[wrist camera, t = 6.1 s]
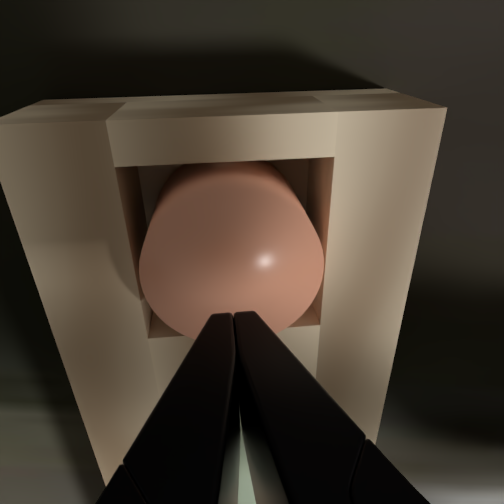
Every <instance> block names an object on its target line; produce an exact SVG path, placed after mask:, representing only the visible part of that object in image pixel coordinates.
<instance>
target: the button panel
mask: <svg viewBox="0 0 504 504" xmlns="http://www.w3.org/2000/svg"><path fill="white" fill-rule="evenodd" d="M446 111H447V107H443V106H440V105H437V104H434V103H431V102H427V101H424V100H421V99H418V98H415V97H412V96H408V95H405V94H402V93H399V92H396V91H392V90H389V89H386V88H385V89H355V90H325V91H295V92H265V93H235V94H205V95H175V96H145V97H115V98H85V99H55V100H42V101H39V102H37V103H34V104H32V105H29V106H27V107H24V108H22V109H19V110H17V111H15V112H12V113H10V114H7V115H5V116H2V117H0V182H1V185H2V188H3V191H4V194H5V197H6V199H7V202H8V205H9V208H10V211H11V214H12V217H13V220H14V223H15V225H16V228H17V231H18V234H19V237H20V240H21V243H22V246H23V249H24V251H25V254H26V257H27V260H28V263H29V266H30V269H31V272H32V275H33V277H34V280H35V283H36V286H37V289H38V292H39V295H40V298H41V301H42V303H43V306H44V309H45V312H46V315H47V318H48V321H49V324H50V327H51V329H52V332H53V335H54V338H55V341H56V344H57V347H58V350H59V353H60V355H61V358H62V361H63V364H64V367H65V370H66V373H67V376H68V379H69V381H70V384H71V387H72V390H73V393H74V396H75V399H76V402H77V405H78V407H79V410H80V413H81V416H82V419H83V422H84V425H85V428H86V431H87V433H88V436H89V439H90V442H91V445H92V448H93V451H94V454H95V457H96V459H97V462H98V465H99V468H100V471H101V474H102V477H103V480H104V483H105V485H106V486H107V484H108V483H109V481H110V479H111V478H112V476H113V474H114V473H115V471H116V469H117V468H118V466H119V465H120V464H123V458H124V457H125V455H126V453H127V452H128V450H129V448H130V447H131V445H132V443H133V442H134V440H135V439H136V437H137V435H138V434H139V432H140V430H141V429H142V427H143V425H144V424H145V422H146V420H147V419H148V417H149V415H150V414H151V412H152V411H153V409H154V407H155V406H156V404H157V402H158V401H159V399H160V397H161V396H162V394H163V392H164V391H165V389H166V387H167V386H168V384H169V383H170V381H171V379H172V378H173V376H174V374H175V373H176V371H177V369H178V368H179V366H180V364H181V363H182V361H183V359H184V358H185V356H186V355H187V353H188V351H189V350H190V348H191V346H192V345H193V343H194V341H195V340H194V339H192V338H189V337H187V336H184V335H183V334H181V333H179V332H177V331H175V330H174V329H172V328H171V327H170V326H168V325H167V324H166V323H164V322H163V321H162V320H161V319H160V318H159V317H158V316H157V314H156V313H155V312H154V311H153V310H152V308H151V307H150V305H149V303H148V302H147V300H146V298H145V295H144V293H143V290H142V287H141V283H140V276H139V260H140V256H141V251H142V247H143V244H144V241H145V237H146V234H147V231H148V228H149V224H150V221H151V218H152V215H153V211H154V208H155V205H156V201H157V199H158V196H159V193H160V191H161V189H162V187H163V186H164V184H165V182H166V181H167V180H168V178H169V177H170V176H171V175H172V174H173V173H174V172H175V171H176V170H177V169H178V168H179V167H181V166H182V165H183V164H192V163H214V162H235V161H257V160H266V161H267V162H269V163H270V164H272V165H273V166H274V167H276V168H277V169H278V170H279V171H280V172H281V173H282V174H283V175H284V176H285V177H286V179H287V180H288V182H289V183H290V185H291V186H292V188H293V190H294V192H295V194H296V196H297V197H298V199H299V201H300V203H301V205H302V207H303V209H304V210H305V212H306V214H307V216H308V218H309V220H310V221H311V223H312V225H313V227H314V229H315V231H316V233H317V235H318V237H319V239H320V242H321V246H322V249H323V256H324V271H323V277H322V281H321V285H320V288H319V290H318V292H317V294H316V297H315V298H314V300H313V302H312V303H311V305H310V306H309V307H308V309H307V310H306V311H305V312H304V313H303V315H301V316H300V317H299V318H298V319H297V320H296V321H295V322H294V323H292V324H291V325H290V326H288V327H287V328H285V329H284V330H282V331H280V332H279V333H277V334H276V335H277V336H278V337H279V338H280V339H281V340H282V342H283V343H284V344H285V345H286V346H287V347H288V348H289V349H290V351H291V352H292V353H293V354H294V355H295V356H296V357H297V358H298V360H299V361H300V362H301V363H302V364H303V365H304V366H305V367H306V369H307V370H308V371H309V372H310V373H311V374H312V375H313V376H314V377H315V379H316V380H317V381H318V382H319V383H320V384H321V385H322V386H323V388H324V389H325V390H326V391H327V392H328V393H329V394H330V395H331V397H332V398H333V399H334V400H335V401H336V402H337V403H338V404H339V405H340V407H341V408H342V409H343V410H344V411H345V412H346V413H347V414H348V416H349V417H350V418H351V419H352V420H353V421H354V422H355V423H356V425H357V426H358V427H359V428H360V429H361V430H362V431H363V432H364V433H365V435H366V439H370V440H371V441H372V442H373V443H374V444H376V439H377V435H378V430H379V425H380V421H381V416H382V411H383V406H384V402H385V397H386V392H387V388H388V383H389V378H390V374H391V369H392V364H393V360H394V355H395V350H396V346H397V341H398V336H399V332H400V327H401V322H402V318H403V313H404V308H405V303H406V299H407V294H408V289H409V285H410V280H411V275H412V271H413V266H414V261H415V257H416V252H417V247H418V243H419V238H420V233H421V229H422V224H423V219H424V214H425V210H426V205H427V200H428V196H429V191H430V186H431V182H432V177H433V172H434V168H435V163H436V158H437V154H438V149H439V144H440V140H441V135H442V130H443V126H444V121H445V116H446Z"/></svg>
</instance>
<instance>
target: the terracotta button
mask: <svg viewBox="0 0 504 504" xmlns="http://www.w3.org/2000/svg"><path fill="white" fill-rule="evenodd" d="M323 271H324V256H323V249H322V246H321V242H320V239H319V237H318V235H317V233H316V231H315V229H314V227H313V225H312V223H311V221H310V220H309V218H308V216H307V214H306V212H305V210H304V209H303V207H302V205H301V203H300V201H299V199H298V197H297V196H296V194H295V192H294V190H293V188H292V186H291V185H290V183H289V182H288V180H287V179H286V177H285V176H284V175H283V174H282V173H281V172H280V171H279V170H278V169H277V168H276V167H274V166H273V165H272V164H270V163H269V162H267V161H266V160H257V161H235V162H214V163H192V164H183V165H182V166H181V167H179V168H178V169H177V170H176V171H175V172H174V173H173V174H172V175H171V176H170V177H169V178H168V180H167V181H166V182H165V184H164V186H163V187H162V189H161V191H160V193H159V196H158V199H157V201H156V205H155V208H154V211H153V215H152V218H151V221H150V224H149V228H148V231H147V234H146V237H145V241H144V244H143V247H142V251H141V256H140V260H139V276H140V283H141V287H142V290H143V293H144V295H145V298H146V300H147V302H148V303H149V305H150V307H151V308H152V310H153V311H154V312H155V313H156V314H157V316H158V317H159V318H160V319H161V320H162V321H163V322H164V323H166V324H167V325H168V326H170V327H171V328H172V329H174V330H175V331H177V332H179V333H181V334H183V335H184V336H187V337H189V338H192V339H194V340H196V338H197V336H198V335H199V333H200V331H201V330H202V328H203V327H204V325H205V323H206V322H207V320H208V318H209V317H210V315H211V314H214V313H226V312H230V313H232V314H233V316H234V313H235V312H240V311H255V312H256V313H257V314H258V315H259V316H260V317H261V318H262V319H263V320H264V321H265V323H266V324H267V325H268V326H269V327H270V328H271V329H272V330H273V332H274V333H275V334H277V333H279V332H280V331H282V330H284V329H285V328H287V327H288V326H290V325H291V324H292V323H294V322H295V321H296V320H297V319H298V318H299V317H300V316H301V315H303V313H304V312H305V311H306V310H307V309H308V307H309V306H310V305H311V303H312V302H313V300H314V298H315V297H316V294H317V292H318V290H319V288H320V285H321V281H322V277H323Z"/></svg>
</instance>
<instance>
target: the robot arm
mask: <svg viewBox="0 0 504 504" xmlns="http://www.w3.org/2000/svg"><path fill="white" fill-rule="evenodd" d="M240 419H241V427H240ZM241 428H242V435H243V441H244V446H245V451H246V456H247V461H248V466H249V471H250V476H251V481H252V486H253V491H254V496H255V501H256V504H430V503H429V502H428V501H427V500H426V499H425V498H424V497H423V496H422V495H421V494H420V493H419V492H418V491H417V490H416V489H415V488H414V487H413V486H412V485H411V484H410V483H409V481H408V480H407V479H406V478H405V477H404V476H403V475H402V474H401V473H400V472H399V471H398V470H397V469H396V468H395V467H394V465H393V464H392V463H391V462H390V461H389V460H388V459H387V458H386V457H385V456H384V455H383V453H382V452H381V451H380V450H379V449H378V448H377V447H376V446H375V444H374V443H373V442H372V441H371V440H370V439H366V435H365V433H364V432H363V431H362V430H361V429H360V428H359V427H358V426H357V425H356V423H355V422H354V421H353V420H352V419H351V418H350V417H349V416H348V414H347V413H346V412H345V411H344V410H343V409H342V408H341V407H340V405H339V404H338V403H337V402H336V401H335V400H334V399H333V398H332V397H331V395H330V394H329V393H328V392H327V391H326V390H325V389H324V388H323V386H322V385H321V384H320V383H319V382H318V381H317V380H316V379H315V377H314V376H313V375H312V374H311V373H310V372H309V371H308V370H307V369H306V367H305V366H304V365H303V364H302V363H301V362H300V361H299V360H298V358H297V357H296V356H295V355H294V354H293V353H292V352H291V351H290V349H289V348H288V347H287V346H286V345H285V344H284V343H283V342H282V340H281V339H280V338H279V337H278V336H277V335H276V334H275V333H274V332H273V330H272V329H271V328H270V327H269V326H268V325H267V324H266V323H265V321H264V320H263V319H262V318H261V317H260V316H259V315H258V314H257V313H256V312H255V311H240V312H235V313H234V316H233V314H232V313H230V312H226V313H214V314H211V315H210V317H209V318H208V320H207V322H206V323H205V325H204V327H203V328H202V330H201V331H200V333H199V335H198V336H197V338H196V340H195V341H194V343H193V345H192V346H191V348H190V350H189V351H188V353H187V355H186V356H185V358H184V359H183V361H182V363H181V364H180V366H179V368H178V369H177V371H176V373H175V374H174V376H173V378H172V379H171V381H170V383H169V384H168V386H167V387H166V389H165V391H164V392H163V394H162V396H161V397H160V399H159V401H158V402H157V404H156V406H155V407H154V409H153V411H152V412H151V414H150V415H149V417H148V419H147V420H146V422H145V424H144V425H143V427H142V429H141V430H140V432H139V434H138V435H137V437H136V439H135V440H134V442H133V443H132V445H131V447H130V448H129V450H128V452H127V453H126V455H125V457H124V458H123V464H120V465H119V466H118V468H117V469H116V471H115V473H114V474H113V476H112V478H111V479H110V481H109V483H108V484H107V486H106V488H105V489H104V491H103V492H102V494H101V496H100V497H99V499H98V500H97V502H96V503H95V504H238V487H239V465H240V441H241Z"/></svg>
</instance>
